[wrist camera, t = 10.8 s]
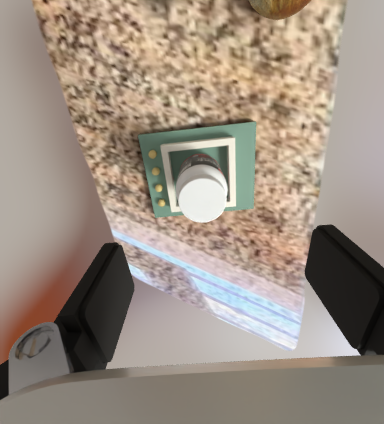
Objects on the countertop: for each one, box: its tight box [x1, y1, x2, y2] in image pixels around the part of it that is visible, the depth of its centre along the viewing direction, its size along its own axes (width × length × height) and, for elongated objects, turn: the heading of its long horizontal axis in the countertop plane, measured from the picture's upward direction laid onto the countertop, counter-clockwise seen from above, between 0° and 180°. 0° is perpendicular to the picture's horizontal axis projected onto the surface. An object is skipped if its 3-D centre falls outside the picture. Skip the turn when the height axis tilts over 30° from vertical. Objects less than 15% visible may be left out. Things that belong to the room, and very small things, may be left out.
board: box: [138, 121, 256, 218], centre depth 28 cm, size 12×15×3 cm
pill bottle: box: [176, 154, 228, 222], centre depth 24 cm, size 6×6×10 cm
